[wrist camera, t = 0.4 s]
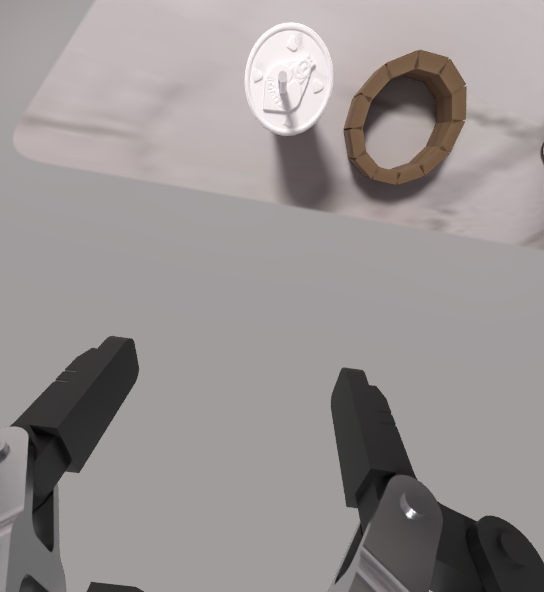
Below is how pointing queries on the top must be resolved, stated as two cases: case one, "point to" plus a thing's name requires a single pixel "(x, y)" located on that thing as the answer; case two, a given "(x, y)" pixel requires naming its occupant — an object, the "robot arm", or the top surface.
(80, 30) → the top surface
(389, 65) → the brown polygonal ring
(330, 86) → the smoothie
